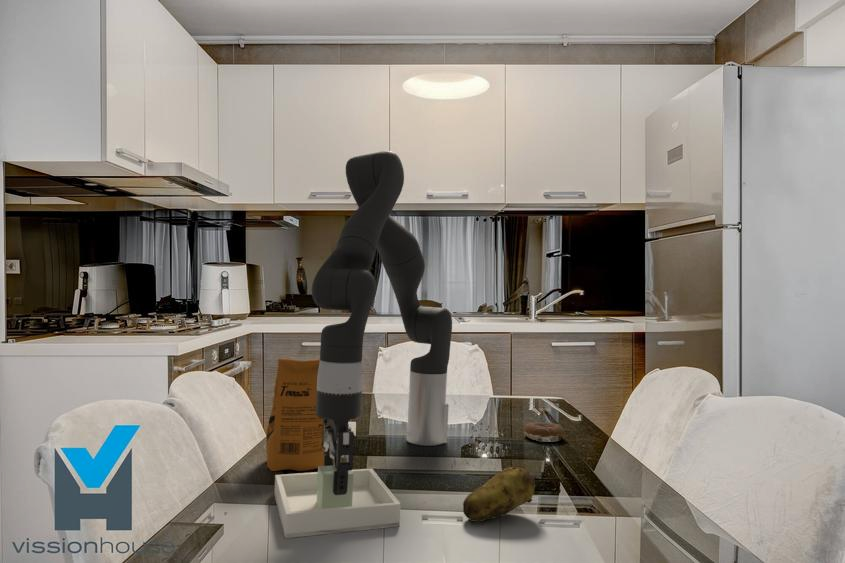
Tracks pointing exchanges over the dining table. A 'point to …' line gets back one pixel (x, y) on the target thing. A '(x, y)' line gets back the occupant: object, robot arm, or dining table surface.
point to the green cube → (326, 489)
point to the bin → (306, 519)
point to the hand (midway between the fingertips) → (334, 485)
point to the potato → (500, 494)
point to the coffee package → (295, 418)
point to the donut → (543, 430)
